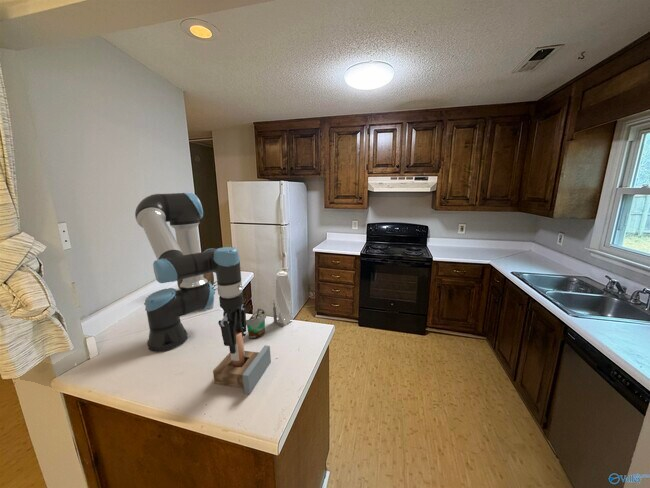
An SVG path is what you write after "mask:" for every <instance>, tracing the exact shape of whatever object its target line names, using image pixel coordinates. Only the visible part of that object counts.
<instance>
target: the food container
mask: <svg viewBox="0 0 650 488" xmlns="http://www.w3.org/2000/svg"><path fill="white" fill-rule="evenodd" d="M266 319H267V314H266V312H265V310H264V309H261V308H257V310H256V312H254V313H253V314H252V315H251V316H250V317H249V319H246V330H247V335H248V339H249V340H257V339H260V338H262V337H264V335H265V333H266Z"/></svg>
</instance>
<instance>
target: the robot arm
mask: <svg viewBox="0 0 650 488" xmlns="http://www.w3.org/2000/svg"><path fill="white" fill-rule="evenodd" d="M203 217H204V210H203V206H202V202H201V200H200V199H199V197H198V195H196V194H195V193H192V192H191V193H189V192H180V193H179V192H178V193H174V192H173V193H155V194H151V195H148V196H146V197H144V198H143V199H142V200H140V202H139V203H138V205H137V206H136V209H135V212H134V218H135V220H136V222H137V225H139V226H140V227H141V228H142V229H143V231H144V233H145V235H146V238H147V240H148V242H149V244H150V246H151V249H152V250H153V253H154V255H155V257H156V260H154V261H153V263H152V266H153V273H154V276H155V280H156V281H157V282H158V284H166V283H173V282H177V280H181V279H183V282H182V283H181V284H180V289H178V290H176V289H175V288H173V287H169V288H163V289H160V290H157V291H155V292H152V293H151V294H150V295H148V296H147V297H145V300H144V304H145V312H146V316H147V323H148V327H149V333H148V340H147V341H146V342H147V350H148V351H150V352H153V353H162V352H163V353H164V352H167V351H171V350H173V349H176V348H178V347H179V346H182V345H183V344H184V343H185V342H186V341H187V339H188V333H187V332H188V331H187V330H186V329H185V327H184V325H183V324H182V322H181V317H183V316H186V315H189V314H192V313H196V312H199V311H204V309H205V308H208V307H210V306H211V305H212V304H213V302H214V303H215V294H214V292H215V291H214V290H213V289H214V288H213V287H214V285H213V286H212V284H211V283H209V282H208V280H207V279H205V278H204V277H203V274H207V273H212V272H213V273H215V276H216V281H217V282H216V283H217V285H216V286H217V292H218V293H217V294H218V296H219V297H218V299H219V301H218V302H219V306H220V308H221V309H222V310H223V314H222V316H223V317H222V319H221V320H218V322H217V323H218V326H219V327H220V331H221V337H222V340H223V341H222V342H223V346H226V347H228V349H229V353H231V360H234V361H239V353H238V344H237V343H236V332H241V333H242V340H243V350H244V351H245V345H244V344H245V343H244V342H245V341H244V337H246V336H247V333H246V332H247V325H246V320H247V316H246V315H247V313H246V311H247V304H244V302H245V301H244V300H245V299H244V293H243V283H242V272H241V263H240V262H241V258H240V253H239V249H237V247H233V246H224V247H219V248H207V249H205V250H204V251H201V249H200V248H201V247H200V242H199V236H198V234H199V233H198V226H199V224H200V223H201V222H200V220H201V219H203ZM167 222H169V225H168V224H167ZM169 226H170V227H171V228H173V229H174V231H175V236H174V235H173V232H172V231H171V229H170V227H169ZM244 354H245V352H244Z"/></svg>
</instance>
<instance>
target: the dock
mask: <svg viewBox="0 0 650 488" xmlns="http://www.w3.org/2000/svg"><path fill="white" fill-rule="evenodd" d="M258 352H259V354H258V355H257V356H256V358H255V359H254V360H253V362H252V363H251V364H250V366H249V367H248V368H247V370H246V371H245V372H244V373H243V375H242V376H243V385H244V388H243V391H244V392H243V393H244V395H245V394H246V395H251V394H252V392H253V391H254V390H255V387H256V386H257V385H258V383H259V381H260V380H261V378H262V377H263V375H264V374H265V372H266V371H267V369H268V367H270V364H271V363H272V357H271V356H272V355H271V346H270V345H263V347H262V348H261V350H259V351H258Z"/></svg>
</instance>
